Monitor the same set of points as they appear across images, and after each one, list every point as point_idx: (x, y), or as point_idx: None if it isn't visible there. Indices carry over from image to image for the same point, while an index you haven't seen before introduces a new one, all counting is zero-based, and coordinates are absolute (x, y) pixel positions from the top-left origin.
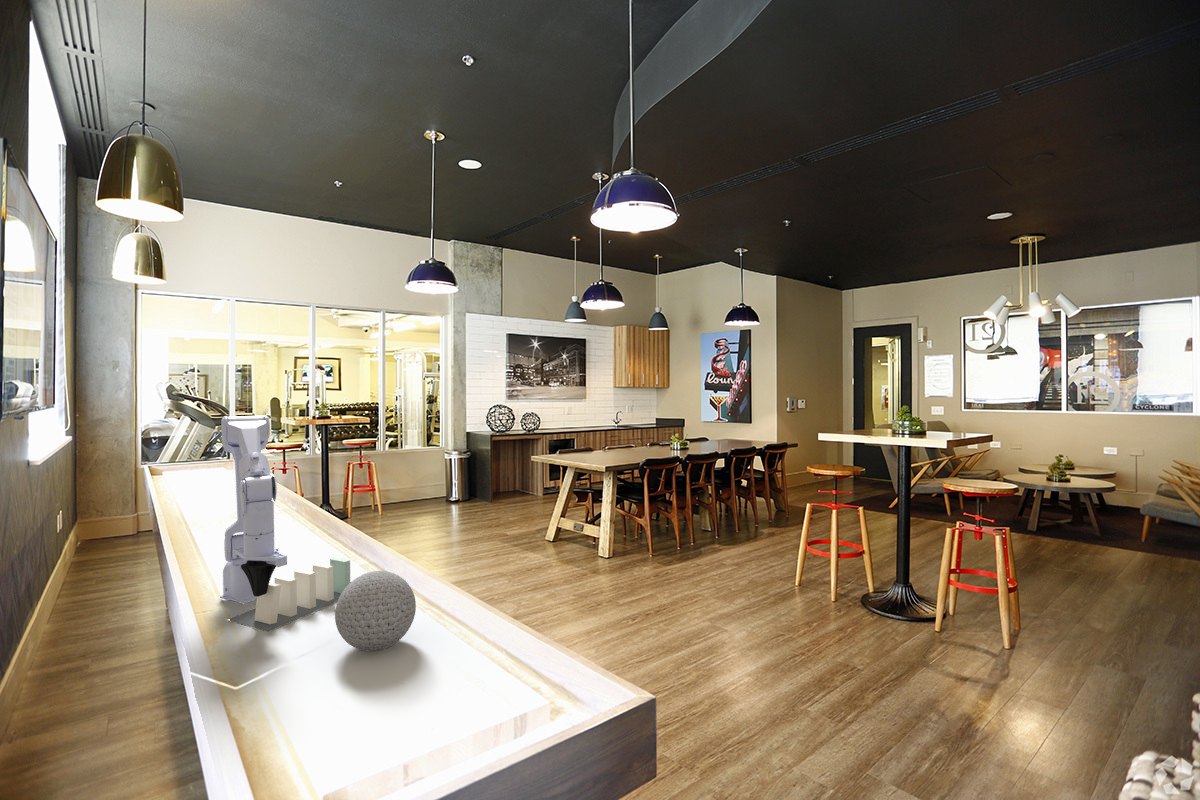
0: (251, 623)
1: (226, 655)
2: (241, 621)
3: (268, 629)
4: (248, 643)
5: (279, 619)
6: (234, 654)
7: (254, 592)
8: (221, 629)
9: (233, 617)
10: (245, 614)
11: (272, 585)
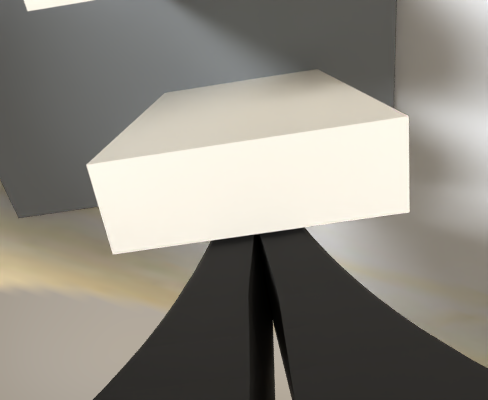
0: None
1: None
2: None
3: None
4: (397, 256)
5: (284, 29)
6: (437, 321)
7: (272, 316)
8: (123, 257)
9: (11, 177)
10: (9, 116)
11: (362, 211)
